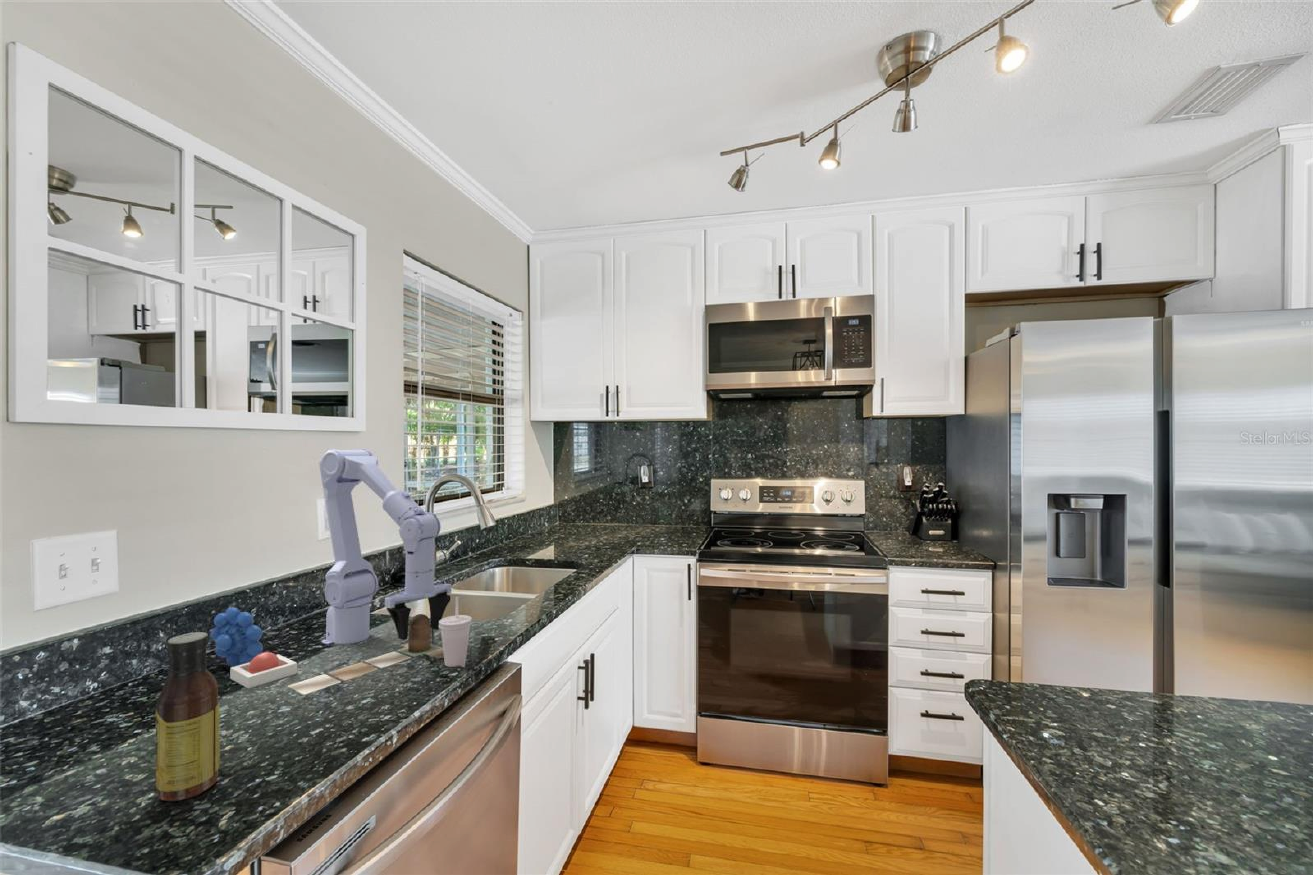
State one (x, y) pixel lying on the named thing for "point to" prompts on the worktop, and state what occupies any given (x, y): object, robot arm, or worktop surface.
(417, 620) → the walnut pawn
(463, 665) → the smoothie
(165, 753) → the sauce bottle
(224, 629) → the grapes
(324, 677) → the game board
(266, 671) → the dome base
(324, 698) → the worktop surface
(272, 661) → the dome button
